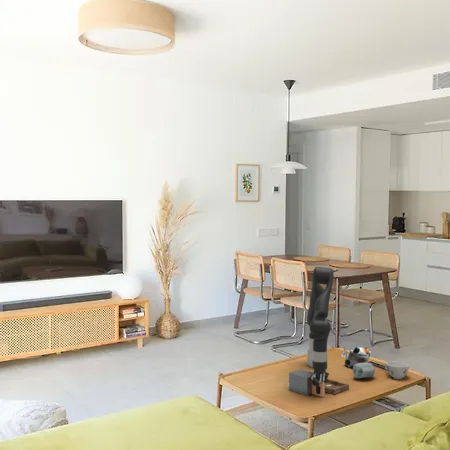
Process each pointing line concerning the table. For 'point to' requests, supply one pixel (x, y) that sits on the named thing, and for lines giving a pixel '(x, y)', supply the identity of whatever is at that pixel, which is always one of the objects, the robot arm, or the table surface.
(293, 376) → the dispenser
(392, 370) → the teacup
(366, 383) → the table surface
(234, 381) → the table surface
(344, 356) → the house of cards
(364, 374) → the grey rounded cylinder
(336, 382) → the tray
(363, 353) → the lucky cat figurine
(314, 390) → the orange tan rectangular slab
